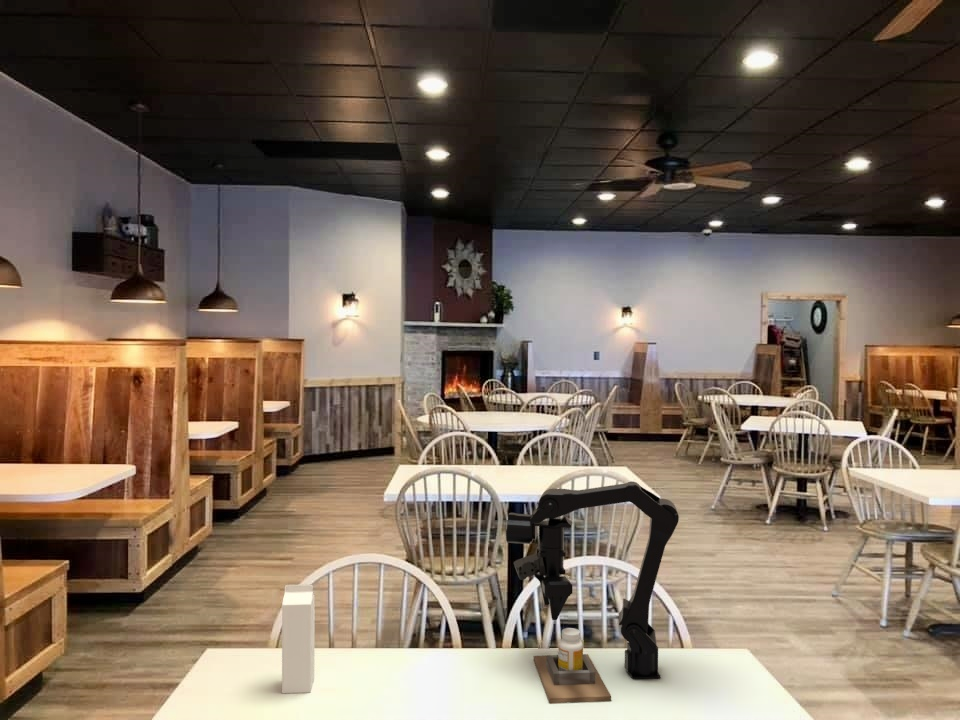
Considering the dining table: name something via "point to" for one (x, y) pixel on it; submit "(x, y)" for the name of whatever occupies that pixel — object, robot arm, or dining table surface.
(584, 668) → the can holder
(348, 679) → the dining table surface
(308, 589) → the milk
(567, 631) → the supplement bottle
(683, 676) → the dining table surface
